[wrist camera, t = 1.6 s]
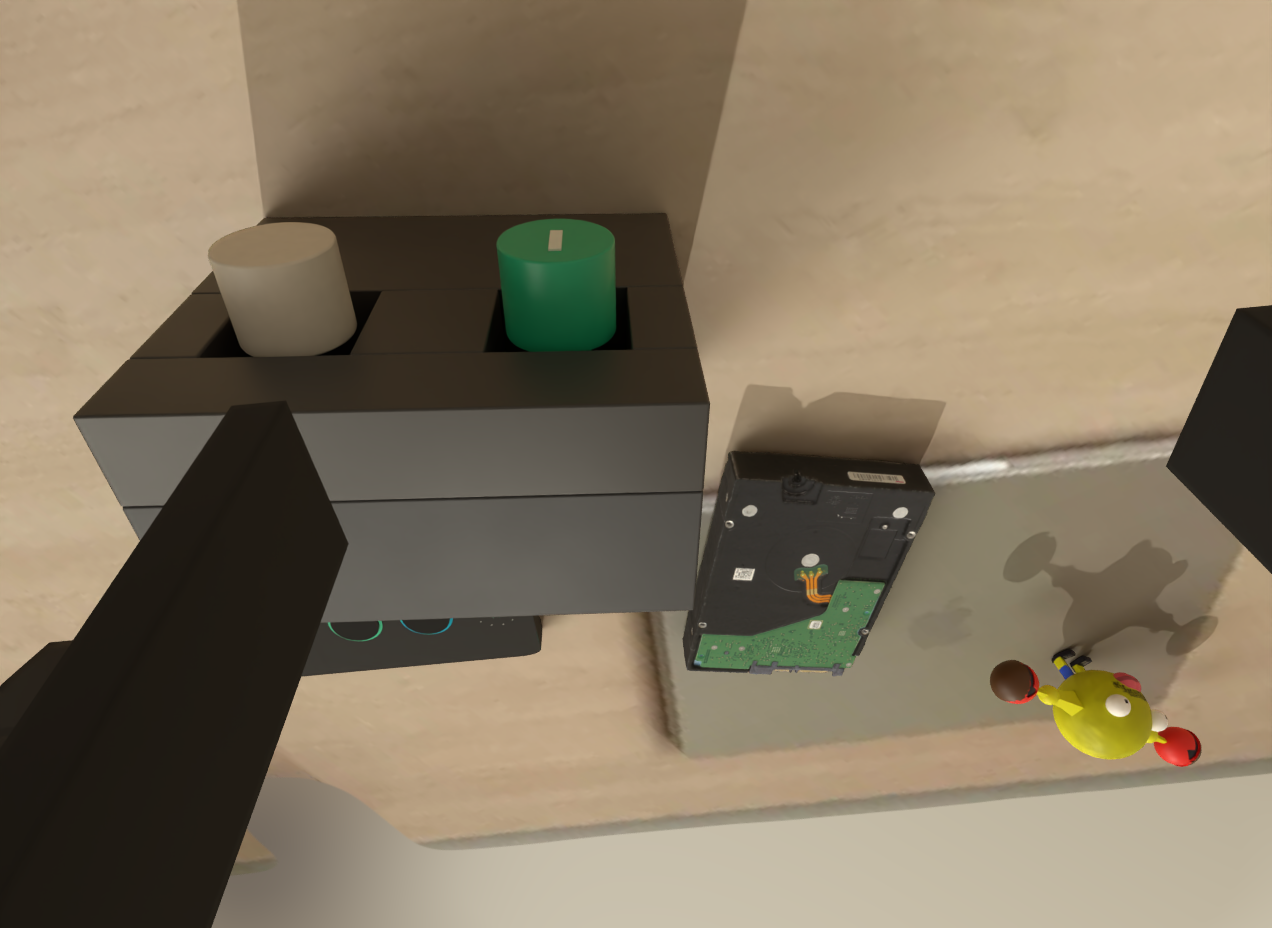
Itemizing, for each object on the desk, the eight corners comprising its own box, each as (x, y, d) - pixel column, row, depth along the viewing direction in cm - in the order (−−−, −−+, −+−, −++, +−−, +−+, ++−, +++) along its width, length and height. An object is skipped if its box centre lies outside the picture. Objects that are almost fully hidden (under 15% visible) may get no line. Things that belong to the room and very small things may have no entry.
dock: (263, 217, 30) (70, 416, 19) (666, 212, 30) (710, 402, 19) (315, 389, 35) (186, 628, 24) (661, 382, 35) (694, 611, 24)
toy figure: (1189, 672, 52) (1258, 764, 46) (1122, 715, 54) (1180, 806, 49) (1006, 589, 45) (1061, 684, 40) (941, 642, 48) (984, 737, 43)
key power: (501, 216, 23) (489, 260, 20) (613, 215, 23) (616, 258, 20) (511, 306, 25) (501, 357, 22) (614, 304, 25) (617, 355, 22)
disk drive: (723, 443, 38) (680, 638, 47) (731, 478, 36) (684, 675, 44) (919, 456, 39) (841, 644, 48) (939, 490, 37) (854, 681, 46)
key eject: (233, 221, 23) (185, 267, 20) (348, 220, 23) (316, 265, 20) (262, 310, 24) (222, 363, 22) (369, 308, 25) (341, 360, 22)
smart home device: (543, 657, 45) (209, 688, 45) (544, 634, 46) (220, 664, 46) (518, 558, 40) (141, 594, 40) (520, 535, 41) (156, 570, 41)
